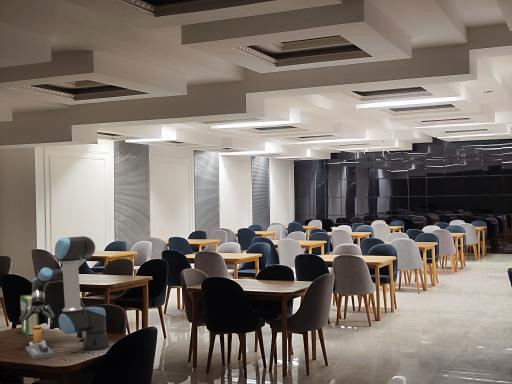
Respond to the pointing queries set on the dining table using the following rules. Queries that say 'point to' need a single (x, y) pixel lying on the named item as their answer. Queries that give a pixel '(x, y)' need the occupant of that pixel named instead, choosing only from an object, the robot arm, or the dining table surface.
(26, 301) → the hardback book
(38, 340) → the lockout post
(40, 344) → the breaker board
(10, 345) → the dining table surface
